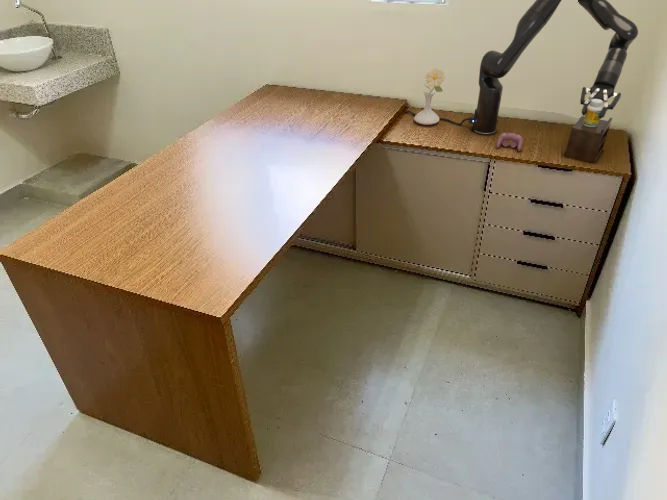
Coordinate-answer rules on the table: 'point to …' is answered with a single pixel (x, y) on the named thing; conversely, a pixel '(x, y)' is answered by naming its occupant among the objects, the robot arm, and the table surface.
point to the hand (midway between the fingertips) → (591, 116)
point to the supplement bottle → (593, 113)
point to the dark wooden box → (587, 140)
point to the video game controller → (513, 137)
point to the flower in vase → (430, 97)
